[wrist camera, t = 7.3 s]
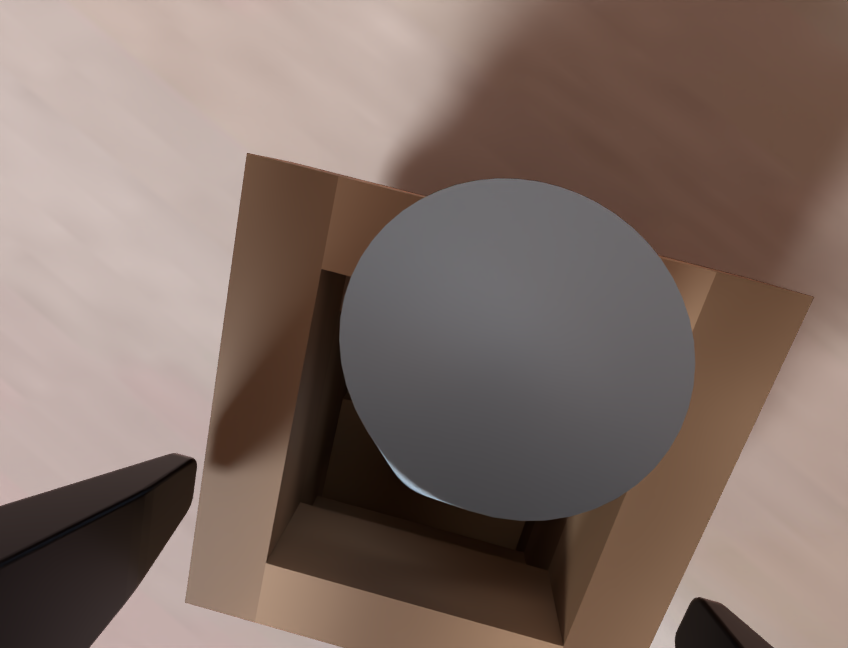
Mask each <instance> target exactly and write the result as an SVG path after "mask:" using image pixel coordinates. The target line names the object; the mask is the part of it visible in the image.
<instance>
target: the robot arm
mask: <svg viewBox="0 0 848 648" xmlns="http://www.w3.org/2000/svg"><path fill="white" fill-rule="evenodd" d="M196 470H197V463H196V460H195V459H194V458H192V457H188V456H184V455H181V454H177V453H172V454H168V455H165V456H161V457H158V458H155V459H152V460H148V461H145V462H142V463H139V464H135V465H132V466H129V467H126V468H122V469H119V470H116V471H113V472H109V473H106V474H103V475H100V476H96V477H93V478H90V479H87V480H83V481H80V482H77V483H74V484H70V485H67V486H64V487H61V488H57V489H54V490H51V491H48V492H44V493H41V494H38V495H35V496H31V497H28V498H25V499H21V500H18V501H15V502H12V503H8V504H5V505H2V506H0V648H90V646H91V645H92V644H93V643H94V641H95V640H96V639H97V638H98V636H99V635H100V634H101V633H102V631H103V630H104V629H105V628H106V627H107V625H108V624H109V623H110V622H111V620H112V619H113V618H114V617H115V615H116V614H117V613H118V612H119V610H120V609H121V608H122V607H123V605H124V604H125V603H126V602H127V600H128V599H129V598H130V596H131V595H132V594H133V593H134V591H135V590H136V589H137V587H138V586H139V584H140V583H141V581H142V580H143V578H144V577H145V575H146V574H147V572H148V571H149V569H150V568H151V566H152V565H153V563H154V562H155V560H156V559H157V557H158V556H159V554H160V553H161V551H162V550H163V548H164V547H165V545H166V544H167V542H168V540H169V539H170V537H171V536H172V534H173V533H174V531H175V530H176V528H177V527H178V525H179V524H180V522H181V521H182V519H183V518H184V516H185V515H186V513H187V511H188V510H189V508H190V505H191V503H192V499H193V493H194V485H195V477H196ZM675 648H773V647H772V646H771V645H770V644H769V643H768V642H766V641H765V640H764V639H763V638H762V637H761V636H759V635H758V634H757V633H756V632H755V631H754V630H752V629H751V628H750V627H749V626H748V625H747V624H745V623H744V622H743V621H742V620H741V619H739V618H738V617H737V616H736V615H735V614H734V613H732V612H731V611H730V610H729V609H728V608H727V607H725V606H724V605H723V604H721V603H719V602H716V601H712V600H708V599H705V598H701V597H698V598H694V599H693V600H692V601H691V603H690V605H689V607H688V609H687V611H686V613H685V615H684V617H683V619H682V621H681V623H680V625H679V628H678V630H677V632H676V636H675Z"/></svg>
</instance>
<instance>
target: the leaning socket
mask: <svg viewBox="0 0 848 648" xmlns="http://www.w3.org/2000/svg"><path fill="white" fill-rule="evenodd" d="M425 197H427V196H423V195H419V194H415V193H411V192H407V191H403V190H400V189H396V188H392V187H388V186H384V185H380V184H376V183H372V182H368V181H364V180H360V179H356V178H352V177H348V176H344V175H340V174H336V173H333V172H329V171H325V170H321V169H317V168H313V167H309V166H305V165H301V164H297V163H293V162H288V161H284V160H279V159H274V158H269V157H264V156H259V155H255V154H250V153H247V157H246V164H245V171H244V178H243V186H242V193H241V200H240V207H239V215H238V222H237V229H236V236H235V244H234V251H233V258H232V265H231V273H230V280H229V287H228V294H227V302H226V309H225V316H224V323H223V331H222V338H221V345H220V352H219V360H218V367H217V374H216V382H215V389H214V396H213V403H212V411H211V418H210V425H209V432H208V440H207V447H206V454H205V461H204V469H203V476H202V483H201V490H200V498H199V505H198V512H197V519H196V527H195V534H194V541H193V548H192V556H191V563H190V570H189V577H188V585H187V592H186V599H185V603H189V604H192V605H196V606H199V607H203V608H206V609H210V610H213V611H217V612H220V613H224V614H227V615H231V616H234V617H238V618H241V619H245V620H248V621H252V622H255V623H259V624H262V625H266V626H269V627H273V628H276V629H280V630H284V631H287V632H291V633H294V634H298V635H301V636H305V637H308V638H312V639H315V640H319V641H322V642H326V643H329V644H333V645H336V646H340V647H343V648H649V647H650V645H651V643H652V641H653V639H654V637H655V634H656V632H657V630H658V628H659V626H660V624H661V622H662V620H663V617H664V615H665V613H666V611H667V609H668V607H669V605H670V603H671V600H672V598H673V596H674V594H675V592H676V590H677V588H678V585H679V583H680V581H681V579H682V577H683V575H684V573H685V571H686V568H687V566H688V564H689V562H690V560H691V558H692V556H693V554H694V551H695V549H696V547H697V545H698V543H699V541H700V539H701V537H702V534H703V532H704V530H705V528H706V526H707V524H708V522H709V520H710V517H711V515H712V513H713V511H714V509H715V507H716V505H717V503H718V500H719V498H720V496H721V494H722V492H723V490H724V488H725V486H726V483H727V481H728V479H729V477H730V475H731V473H732V471H733V468H734V466H735V464H736V462H737V460H738V458H739V456H740V454H741V451H742V449H743V447H744V445H745V443H746V441H747V439H748V437H749V434H750V432H751V430H752V428H753V426H754V424H755V422H756V420H757V417H758V415H759V413H760V411H761V409H762V407H763V405H764V403H765V400H766V398H767V396H768V394H769V392H770V390H771V388H772V386H773V383H774V381H775V379H776V377H777V375H778V373H779V371H780V368H781V366H782V364H783V362H784V360H785V358H786V356H787V354H788V351H789V349H790V347H791V345H792V343H793V341H794V339H795V337H796V334H797V332H798V330H799V328H800V326H801V324H802V322H803V320H804V317H805V315H806V313H807V311H808V309H809V307H810V305H811V303H812V300H813V298H814V297H813V296H809V295H806V294H802V293H799V292H795V291H792V290H788V289H785V288H781V287H778V286H774V285H771V284H767V283H764V282H760V281H757V280H753V279H750V278H746V277H743V276H739V275H735V274H731V273H727V272H723V271H719V270H715V269H711V268H707V267H703V266H699V265H695V264H691V263H687V262H683V261H679V260H676V259H672V258H668V257H664V256H660V255H658V256H659V257H660V258H661V260H662V261H663V263H664V264H665V266H666V268H667V269H668V271H669V272H670V274H671V276H672V277H673V279H674V281H675V283H676V285H677V287H678V289H679V292H680V294H681V296H682V298H683V301H684V304H685V307H686V310H687V313H688V316H689V319H690V324H691V329H692V334H693V339H694V351H695V373H694V386H693V391H692V395H691V400H690V404H689V408H688V411H687V414H686V416H685V419H684V422H683V424H682V427H681V429H680V431H679V433H678V435H677V437H676V438H675V440H674V442H673V444H672V445H671V447H670V449H669V450H668V452H667V453H666V454H665V456H664V457H663V458H662V459H661V461H660V462H659V463H658V464H657V466H656V467H655V468H654V469H653V470H652V471H651V472H650V473H649V474H648V475H647V476H646V477H645V478H644V479H643V480H641V481H640V482H639V483H638V484H637V485H636V486H634V487H633V488H631V489H630V490H628V491H627V492H626V493H624V494H623V495H621V496H620V497H618V498H617V499H615V500H613V501H610V502H608V503H606V504H604V505H602V506H600V507H598V508H596V509H593V510H590V511H587V512H584V513H581V514H577V515H574V516H571V517H565V518H558V519H552V520H545V521H517V520H509V519H502V518H494V517H490V516H486V515H483V514H479V513H475V512H472V511H468V510H465V509H462V508H459V507H456V506H453V505H450V504H447V503H444V502H442V501H439V500H436V499H433V498H430V497H427V496H424V495H421V494H419V493H417V492H415V491H413V490H411V489H410V488H408V487H407V486H406V485H405V484H403V483H402V482H401V481H400V479H399V478H398V477H397V476H396V474H395V473H394V472H393V470H392V468H391V467H390V465H389V464H388V462H387V461H386V459H385V458H384V456H383V455H382V453H381V452H380V450H379V448H378V447H377V445H376V444H375V442H374V441H373V439H372V438H371V436H370V435H369V433H368V432H367V430H366V428H365V426H364V424H363V423H362V421H361V419H360V417H359V415H358V413H357V411H356V410H355V407H354V405H353V402H352V399H351V397H350V394H349V391H348V389H347V386H346V382H345V377H344V373H343V369H342V364H341V354H340V343H339V336H340V317H341V312H342V307H343V301H344V296H345V293H346V290H347V287H348V284H349V281H350V279H351V276H352V274H353V272H354V270H355V268H356V266H357V264H358V262H359V260H360V258H361V256H362V255H363V253H364V252H365V250H366V249H367V247H368V246H369V244H370V243H371V241H372V240H373V239H374V238H375V237H376V236H377V234H378V233H379V232H380V231H381V230H382V229H383V228H384V227H385V226H386V225H387V224H388V223H389V222H390V221H391V220H392V219H394V218H395V217H396V216H397V215H398V214H399V213H401V212H402V211H403V210H405V209H406V208H408V207H409V206H411V205H412V204H414V203H415V202H417V201H419V200H421V199H423V198H425Z"/></svg>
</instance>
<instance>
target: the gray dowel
mask: <svg viewBox="0 0 848 648" xmlns="http://www.w3.org/2000/svg"><path fill="white" fill-rule="evenodd" d="M339 343H340V354H341V364H342V369H343V373H344V377H345V382H346V386H347V389H348V391H349V394H350V397H351V399H352V402H353V405H354V407H355V410H356V411H357V413H358V415H359V417H360V419H361V421H362V423H363V424H364V426H365V428H366V430H367V432H368V433H369V435H370V436H371V438H372V439H373V441H374V442H375V444H376V445H377V447H378V448H379V450H380V452H381V453H382V455H383V456H384V458H385V459H386V461H387V462H388V464H389V465H390V467H391V468H392V470H393V472H394V473H395V474H396V476H397V477H398V478H399V479H400V481H401V482H402V483H403V484H405V485H406V486H407V487H408V488H410V489H411V490H413V491H415V492H417V493H419V494H421V495H424V496H427V497H430V498H433V499H436V500H439V501H442V502H444V503H447V504H450V505H453V506H456V507H459V508H462V509H465V510H468V511H472V512H475V513H479V514H483V515H486V516H490V517H494V518H502V519H509V520H517V521H545V520H552V519H558V518H565V517H571V516H574V515H577V514H581V513H584V512H587V511H590V510H593V509H596V508H598V507H600V506H602V505H604V504H606V503H608V502H610V501H613V500H615V499H617V498H618V497H620V496H621V495H623V494H624V493H626V492H627V491H628V490H630V489H631V488H633V487H634V486H636V485H637V484H638V483H639V482H640V481H641V480H643V479H644V478H645V477H646V476H647V475H648V474H649V473H650V472H651V471H652V470H653V469H654V468H655V467H656V466H657V464H658V463H659V462H660V461H661V459H662V458H663V457H664V456H665V454H666V453H667V452H668V450H669V449H670V447H671V445H672V444H673V442H674V440H675V438H676V437H677V435H678V433H679V431H680V429H681V427H682V424H683V422H684V419H685V416H686V414H687V411H688V408H689V404H690V400H691V395H692V391H693V386H694V373H695V351H694V339H693V334H692V329H691V324H690V319H689V316H688V313H687V310H686V307H685V304H684V301H683V298H682V296H681V294H680V292H679V289H678V287H677V285H676V283H675V281H674V279H673V277H672V276H671V274H670V272H669V271H668V269H667V268H666V266H665V264H664V263H663V261H662V260H661V258H660V257H659V256H658V255H657V253H656V252H655V251H654V250H653V248H652V247H651V246H650V245H649V244H648V242H647V241H646V240H645V239H644V238H643V237H642V236H641V235H640V234H639V233H638V232H637V231H636V230H635V229H634V228H632V227H631V226H630V225H629V224H627V223H626V222H625V221H624V220H622V219H621V218H620V217H619V216H617V215H616V214H615V213H613V212H611V211H610V210H608V209H607V208H605V207H603V206H602V205H600V204H599V203H597V202H595V201H593V200H591V199H589V198H587V197H585V196H583V195H581V194H579V193H576V192H573V191H570V190H567V189H565V188H562V187H559V186H555V185H551V184H547V183H543V182H539V181H531V180H523V179H501V178H496V179H486V180H476V181H471V182H467V183H462V184H458V185H454V186H451V187H448V188H446V189H443V190H440V191H437V192H435V193H433V194H431V195H429V196H427V197H425V198H423V199H421V200H419V201H417V202H415V203H414V204H412V205H411V206H409V207H408V208H406V209H405V210H403V211H402V212H401V213H399V214H398V215H397V216H396V217H395V218H394V219H392V220H391V221H390V222H389V223H388V224H387V225H386V226H385V227H384V228H383V229H382V230H381V231H380V232H379V233H378V234H377V236H376V237H375V238H374V239H373V240H372V241H371V243H370V244H369V246H368V247H367V249H366V250H365V252H364V253H363V255H362V256H361V258H360V260H359V262H358V264H357V266H356V268H355V270H354V272H353V274H352V276H351V279H350V281H349V284H348V287H347V290H346V293H345V296H344V301H343V307H342V312H341V317H340V336H339Z"/></svg>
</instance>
